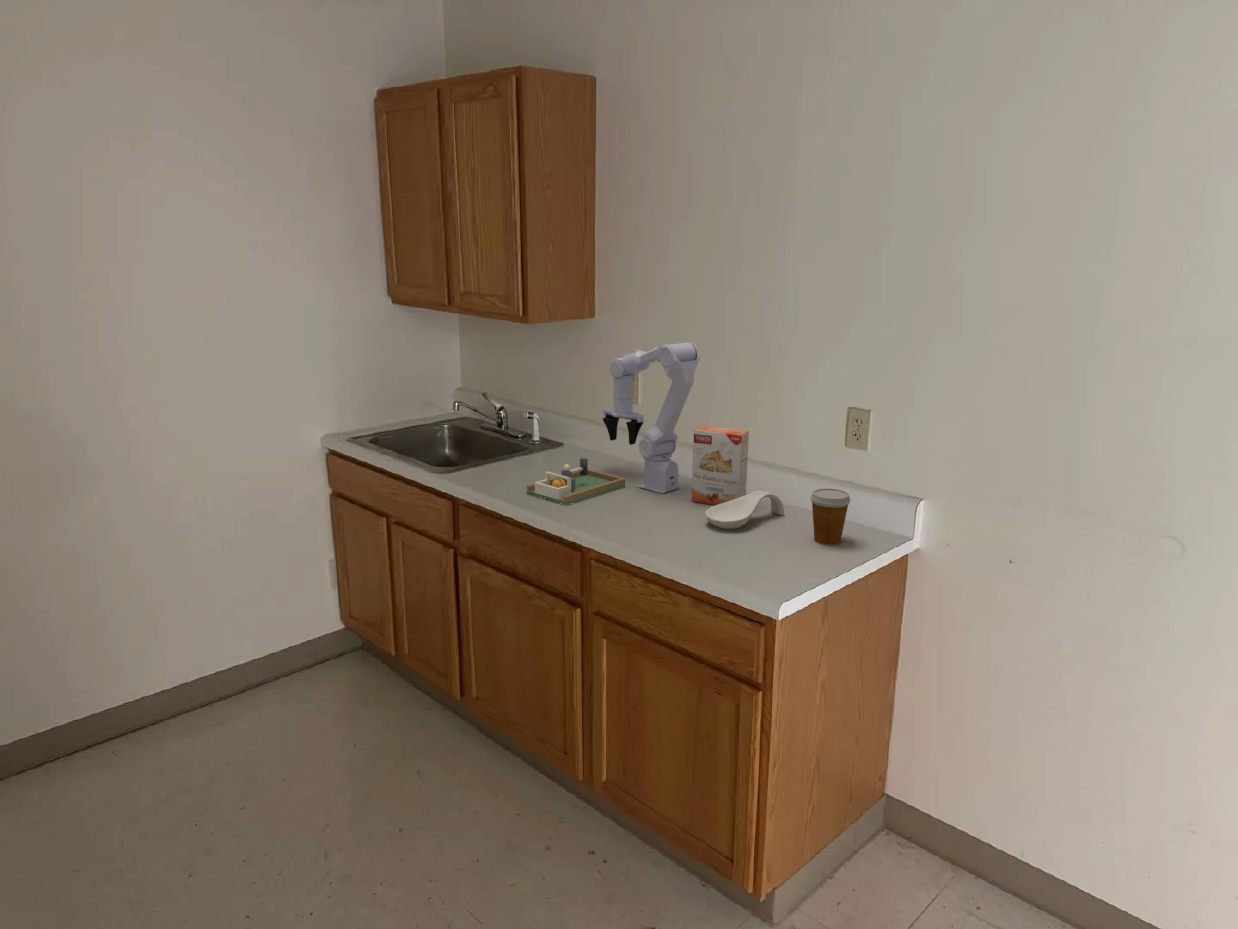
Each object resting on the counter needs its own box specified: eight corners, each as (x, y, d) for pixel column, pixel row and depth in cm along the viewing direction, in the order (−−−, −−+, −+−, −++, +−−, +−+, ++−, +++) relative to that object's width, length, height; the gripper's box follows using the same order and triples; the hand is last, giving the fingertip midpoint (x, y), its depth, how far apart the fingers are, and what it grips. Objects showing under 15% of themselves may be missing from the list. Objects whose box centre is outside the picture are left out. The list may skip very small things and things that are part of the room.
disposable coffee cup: (818, 531, 225) (821, 485, 222) (854, 539, 219) (857, 492, 216) (800, 541, 218) (803, 494, 215) (836, 550, 212) (840, 502, 209)
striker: (592, 484, 258) (592, 460, 257) (570, 491, 252) (570, 466, 250) (580, 481, 262) (580, 456, 260) (558, 487, 255) (557, 463, 253)
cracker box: (690, 502, 247) (692, 428, 242) (699, 496, 252) (701, 424, 247) (738, 510, 241) (741, 434, 235) (746, 504, 246) (749, 430, 241)
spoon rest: (726, 537, 221) (727, 509, 219) (695, 524, 230) (696, 497, 228) (793, 519, 234) (795, 493, 232) (762, 508, 244) (763, 482, 242)
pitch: (625, 486, 261) (625, 466, 259) (566, 505, 244) (566, 483, 242) (585, 476, 271) (585, 456, 270) (527, 493, 254) (526, 472, 252)
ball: (559, 495, 250) (569, 491, 252) (558, 482, 248) (568, 478, 251) (549, 492, 252) (559, 488, 255) (548, 479, 251) (558, 475, 254)
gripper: (596, 396, 268) (596, 440, 272) (633, 402, 259) (632, 448, 263) (611, 393, 274) (611, 436, 277) (648, 399, 264) (647, 444, 268)
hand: (622, 441), depth 270 cm, fingers open, 7 cm apart
